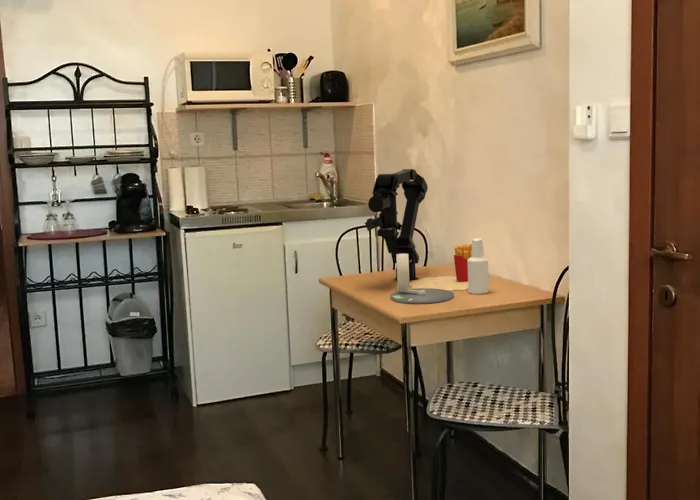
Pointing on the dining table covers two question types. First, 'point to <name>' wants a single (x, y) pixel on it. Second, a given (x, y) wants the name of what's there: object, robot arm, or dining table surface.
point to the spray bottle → (478, 269)
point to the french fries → (462, 261)
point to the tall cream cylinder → (403, 274)
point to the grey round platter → (422, 296)
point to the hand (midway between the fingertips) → (390, 253)
